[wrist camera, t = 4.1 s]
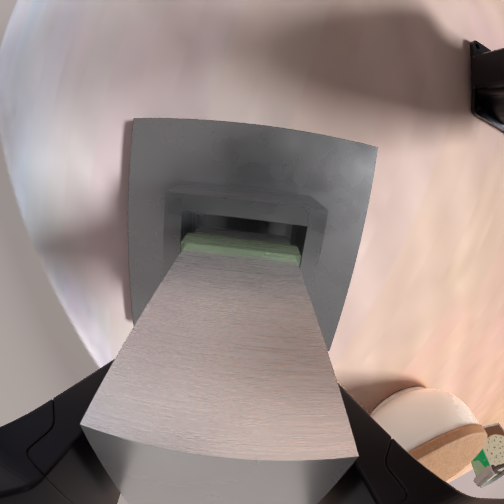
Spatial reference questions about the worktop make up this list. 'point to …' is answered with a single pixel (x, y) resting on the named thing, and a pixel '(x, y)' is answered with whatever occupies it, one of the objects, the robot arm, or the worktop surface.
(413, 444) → the lidded bowl
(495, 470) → the food container
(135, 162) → the stand base
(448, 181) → the worktop surface
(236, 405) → the grey tall block
